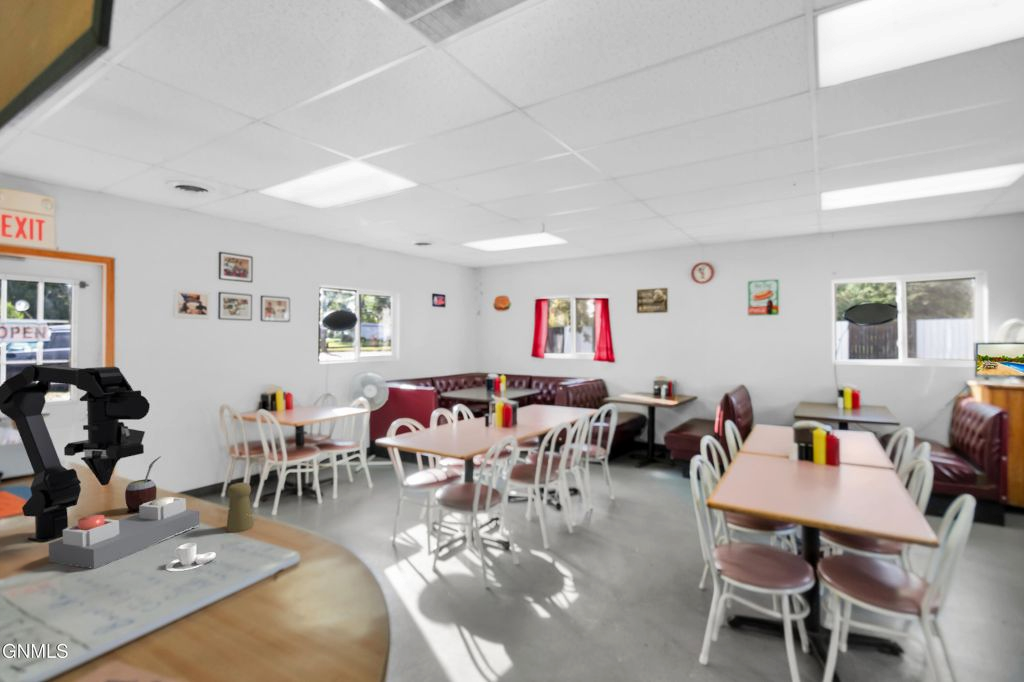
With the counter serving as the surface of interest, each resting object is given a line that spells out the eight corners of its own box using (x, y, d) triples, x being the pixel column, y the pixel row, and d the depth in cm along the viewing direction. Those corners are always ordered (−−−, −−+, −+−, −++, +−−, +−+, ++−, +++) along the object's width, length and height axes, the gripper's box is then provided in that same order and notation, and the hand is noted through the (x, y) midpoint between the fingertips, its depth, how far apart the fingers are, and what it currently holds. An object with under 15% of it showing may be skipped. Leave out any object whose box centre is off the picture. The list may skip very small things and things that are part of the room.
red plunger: (73, 535, 107) (72, 521, 107) (95, 528, 111) (95, 514, 111) (87, 537, 106) (86, 522, 106) (109, 530, 110) (109, 515, 110)
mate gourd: (124, 510, 140) (123, 457, 140) (158, 503, 145) (157, 452, 145) (127, 516, 134) (125, 461, 134) (162, 509, 140) (161, 456, 140)
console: (49, 561, 107) (48, 528, 107) (158, 521, 130) (158, 494, 130) (94, 569, 103) (93, 535, 103) (199, 526, 125) (198, 498, 125)
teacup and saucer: (222, 559, 107) (221, 540, 107) (187, 576, 99) (186, 556, 99) (192, 554, 109) (192, 536, 109) (156, 570, 102) (155, 551, 102)
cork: (241, 533, 120) (240, 487, 120) (220, 531, 122) (219, 486, 122) (259, 523, 126) (258, 480, 126) (238, 522, 127) (237, 480, 127)
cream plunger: (147, 514, 122) (147, 501, 122) (165, 508, 127) (165, 496, 127) (161, 516, 121) (160, 503, 121) (178, 510, 125) (177, 497, 125)
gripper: (164, 415, 123) (166, 478, 123) (112, 413, 129) (113, 473, 129) (117, 422, 113) (119, 491, 113) (61, 420, 119) (63, 486, 119)
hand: (105, 484), depth 119 cm, fingers closed
